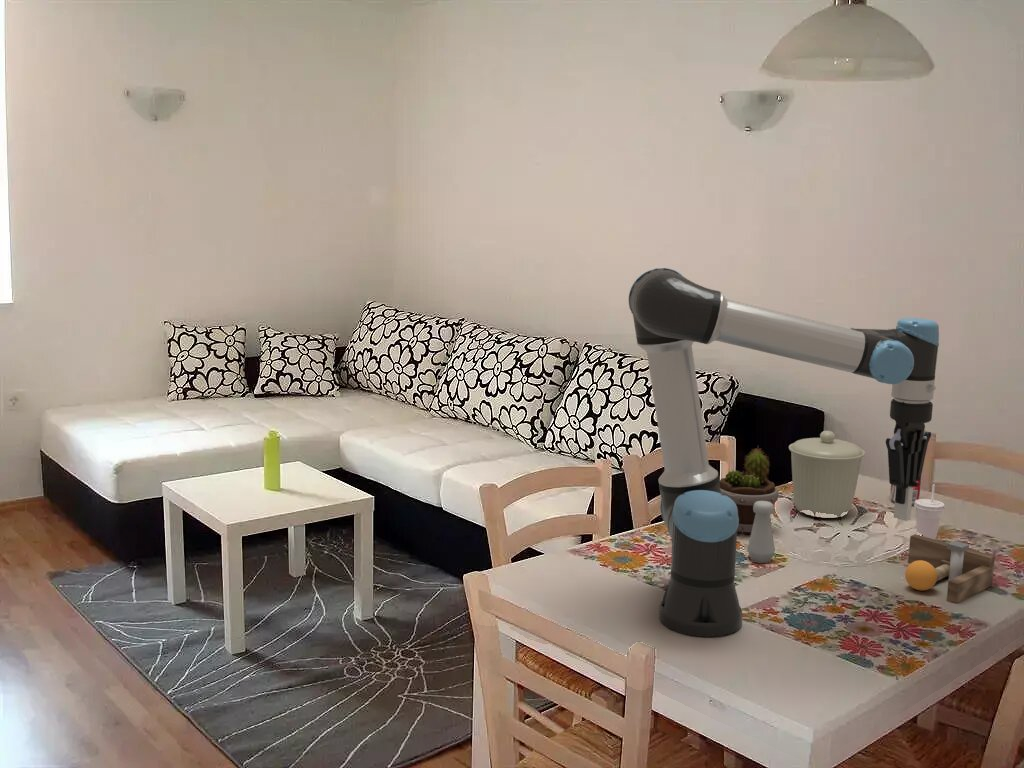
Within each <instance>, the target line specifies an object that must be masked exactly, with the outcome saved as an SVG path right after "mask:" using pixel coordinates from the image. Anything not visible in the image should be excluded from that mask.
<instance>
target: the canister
mask: <svg viewBox="0 0 1024 768" xmlns="http://www.w3.org/2000/svg"><path fill="white" fill-rule="evenodd" d="M788 450H789V451H790V452H791V456H790V457H791V458H790V459H791V475H792V477H791V479H792V493H793V502H794V505H795V508H796V510H797V511H798V512H799V511H802V510H810V511H812V512H813V513H816V512H818V513H819V512H820V513H826V514H834V515H837V516H840V515H841V514H842V513H843V512H847V511H849V510H850V509H851V510H852V507H853V503H854V499H855V494H856V489H857V484H858V480H859V474H860V469H861V464H862V459H863V457H865V455H866V452H865V450H864V449H862V448H861V447H859V446H858V445H856V444H855V443H853V442H849V441H846V440H842V439H837V438H836V434H835V433H834V432H833V431H832V430H823V431H822V432H821V433H820V434H819V437H809V438H808V437H807V438H801V439H798V440H796V441H795V442H793V443H791V444H789V445H788ZM851 510H850V511H851Z"/></svg>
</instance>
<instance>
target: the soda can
mask: <svg viewBox="0 0 1024 768" xmlns="http://www.w3.org/2000/svg"><path fill="white" fill-rule="evenodd" d="M921 481H922V478H921V479H920V481H916V483H919V486H918V487H915V486H913V495H912V506H914V504H915V501H916V500H918V499H919V498H920V493H921V483H922V482H921ZM895 494H896V486H894V485H891V484H890V500H891V501H893V503H895Z"/></svg>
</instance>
